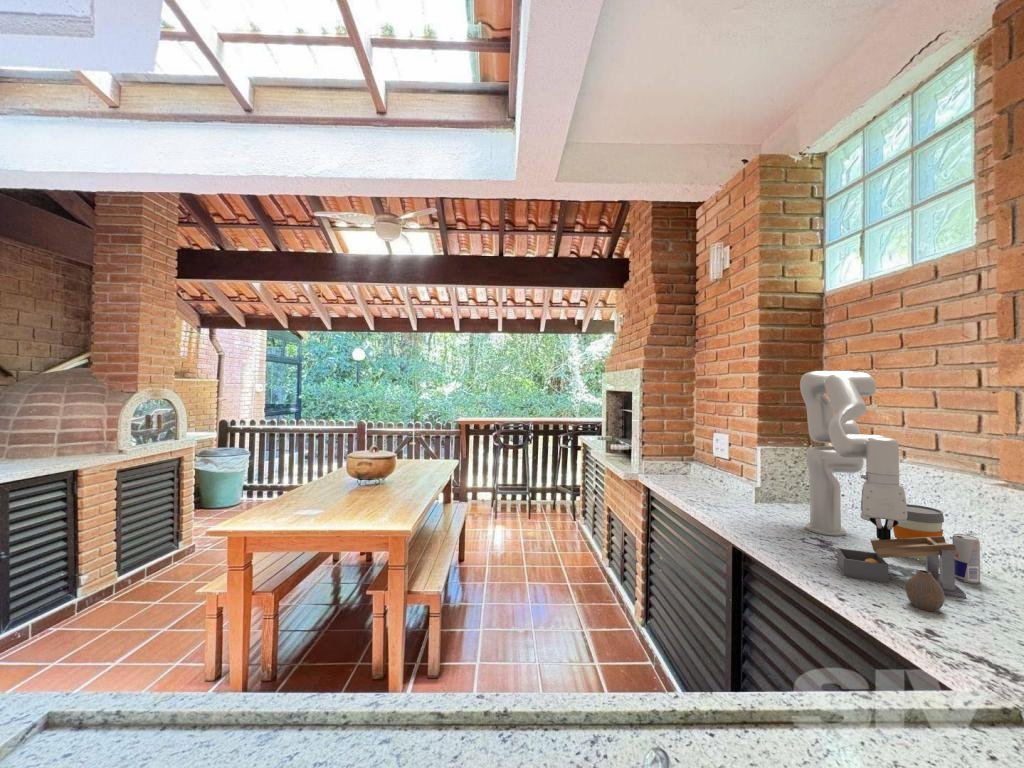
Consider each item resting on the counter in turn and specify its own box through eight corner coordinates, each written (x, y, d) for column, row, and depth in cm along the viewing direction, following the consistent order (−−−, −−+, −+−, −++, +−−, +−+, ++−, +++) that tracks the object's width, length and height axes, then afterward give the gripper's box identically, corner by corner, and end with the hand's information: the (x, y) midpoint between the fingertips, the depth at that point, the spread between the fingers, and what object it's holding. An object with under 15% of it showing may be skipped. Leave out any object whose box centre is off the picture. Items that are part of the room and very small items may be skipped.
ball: (858, 560, 131) (871, 553, 130) (869, 573, 130) (882, 566, 129) (861, 565, 128) (874, 558, 126) (872, 578, 126) (886, 571, 125)
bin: (837, 564, 136) (837, 547, 136) (878, 570, 131) (878, 553, 131) (843, 576, 127) (843, 558, 127) (888, 583, 123) (888, 565, 123)
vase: (925, 600, 113) (924, 565, 113) (952, 614, 106) (952, 577, 106) (898, 601, 112) (898, 566, 113) (924, 615, 106) (924, 577, 106)
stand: (916, 573, 129) (915, 535, 129) (944, 577, 126) (943, 538, 126) (934, 593, 117) (934, 551, 117) (965, 598, 114) (965, 554, 114)
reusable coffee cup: (926, 565, 135) (925, 515, 135) (881, 550, 147) (881, 505, 147) (955, 561, 138) (954, 512, 138) (909, 547, 150) (909, 502, 151)
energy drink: (951, 574, 129) (951, 532, 129) (978, 579, 125) (977, 536, 125) (954, 580, 124) (953, 537, 125) (981, 585, 121) (981, 541, 121)
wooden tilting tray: (867, 542, 137) (864, 533, 138) (936, 538, 130) (933, 528, 130) (880, 559, 124) (877, 549, 124) (958, 555, 117) (955, 544, 117)
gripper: (854, 479, 133) (855, 541, 133) (919, 483, 126) (921, 549, 126) (848, 475, 140) (849, 534, 139) (911, 479, 133) (912, 541, 132)
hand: (883, 541), depth 133 cm, fingers closed
